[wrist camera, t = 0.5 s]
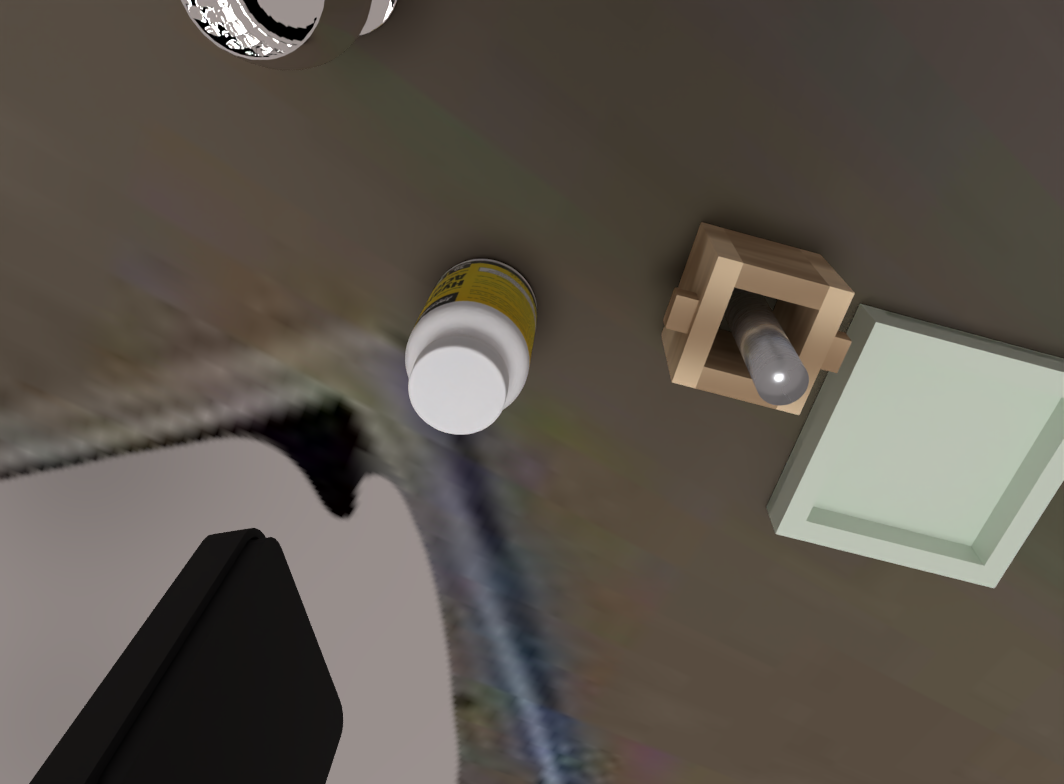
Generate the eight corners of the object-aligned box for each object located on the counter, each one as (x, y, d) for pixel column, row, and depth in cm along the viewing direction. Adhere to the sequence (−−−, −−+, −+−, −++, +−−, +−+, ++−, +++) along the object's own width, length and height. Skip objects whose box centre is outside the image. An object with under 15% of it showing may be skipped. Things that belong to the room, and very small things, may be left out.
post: (726, 271, 41) (767, 352, 32) (765, 282, 41) (817, 366, 32) (712, 309, 42) (748, 398, 33) (750, 319, 42) (796, 410, 33)
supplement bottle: (465, 234, 41) (433, 303, 32) (558, 294, 42) (552, 376, 33) (411, 321, 43) (367, 408, 34) (500, 375, 44) (481, 473, 35)
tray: (859, 303, 41) (875, 322, 39) (1093, 366, 42) (1122, 387, 40) (766, 507, 47) (775, 533, 44) (974, 559, 47) (994, 588, 45)
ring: (680, 216, 40) (695, 250, 35) (840, 259, 40) (877, 299, 35) (642, 329, 42) (650, 376, 37) (792, 369, 43) (820, 420, 38)
